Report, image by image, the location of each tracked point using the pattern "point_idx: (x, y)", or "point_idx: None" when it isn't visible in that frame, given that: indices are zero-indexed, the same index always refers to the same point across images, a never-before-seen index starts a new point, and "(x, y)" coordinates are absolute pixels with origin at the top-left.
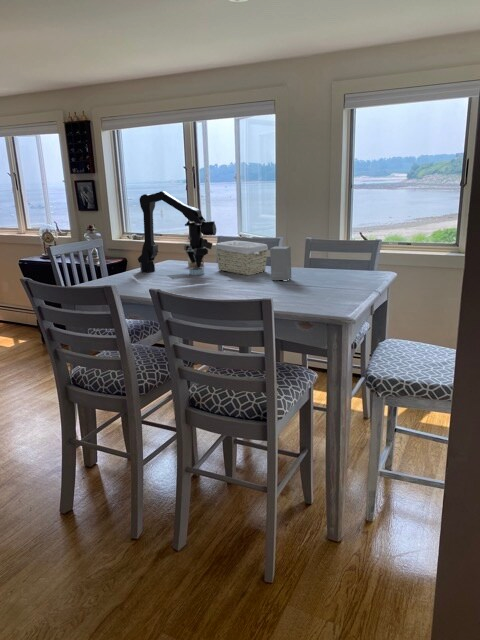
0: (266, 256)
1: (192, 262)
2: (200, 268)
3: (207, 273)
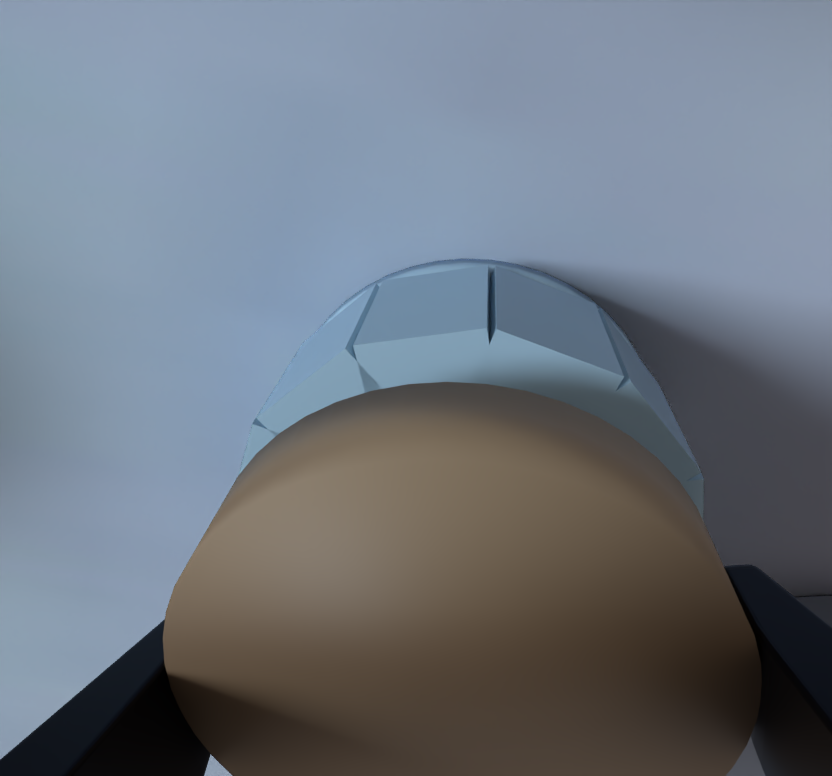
0: None
1: (216, 753)
2: None
3: (295, 105)
